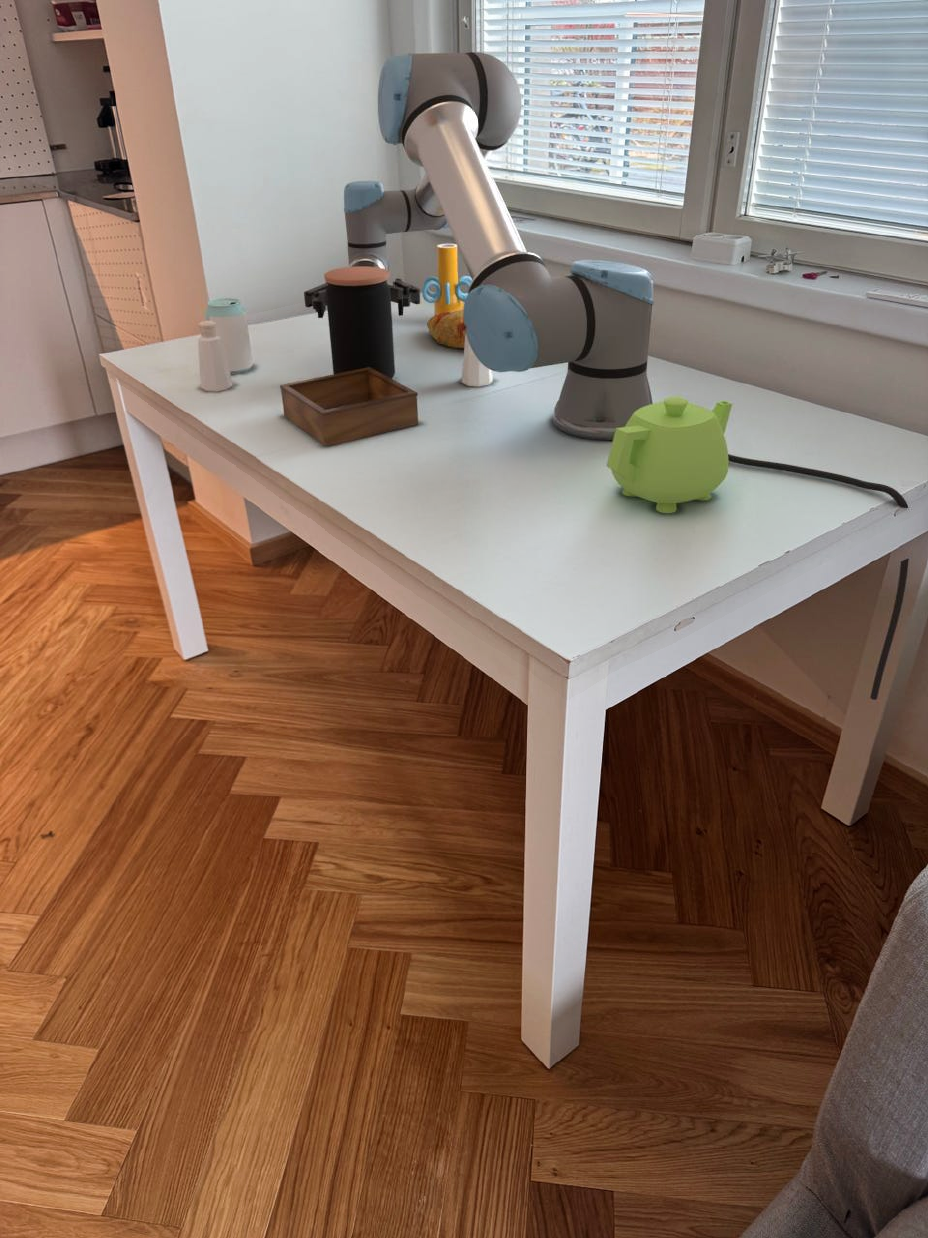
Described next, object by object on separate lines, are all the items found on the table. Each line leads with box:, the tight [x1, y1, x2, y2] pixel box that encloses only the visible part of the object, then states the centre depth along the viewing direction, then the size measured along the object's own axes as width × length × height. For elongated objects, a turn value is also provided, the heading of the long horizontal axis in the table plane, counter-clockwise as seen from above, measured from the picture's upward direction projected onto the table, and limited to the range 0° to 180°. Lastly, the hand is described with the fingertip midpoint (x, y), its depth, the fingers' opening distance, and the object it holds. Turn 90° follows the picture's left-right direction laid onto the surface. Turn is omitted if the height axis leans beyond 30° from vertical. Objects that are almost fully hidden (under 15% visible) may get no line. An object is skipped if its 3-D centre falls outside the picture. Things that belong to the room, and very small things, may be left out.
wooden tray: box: [279, 367, 419, 447], centre depth 145 cm, size 16×16×5 cm
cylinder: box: [421, 243, 472, 316], centre depth 192 cm, size 12×10×15 cm
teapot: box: [605, 396, 733, 514], centre depth 118 cm, size 20×13×13 cm
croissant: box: [426, 308, 467, 349], centre depth 181 cm, size 21×10×8 cm, turn 40°
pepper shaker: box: [461, 335, 494, 388], centre depth 159 cm, size 5×5×11 cm
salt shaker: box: [197, 320, 234, 393], centre depth 159 cm, size 5×5×11 cm
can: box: [204, 297, 254, 375], centre depth 168 cm, size 7×7×12 cm
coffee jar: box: [323, 266, 396, 379], centre depth 159 cm, size 11×11×18 cm
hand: (359, 308), depth 158 cm, fingers open, 13 cm apart
